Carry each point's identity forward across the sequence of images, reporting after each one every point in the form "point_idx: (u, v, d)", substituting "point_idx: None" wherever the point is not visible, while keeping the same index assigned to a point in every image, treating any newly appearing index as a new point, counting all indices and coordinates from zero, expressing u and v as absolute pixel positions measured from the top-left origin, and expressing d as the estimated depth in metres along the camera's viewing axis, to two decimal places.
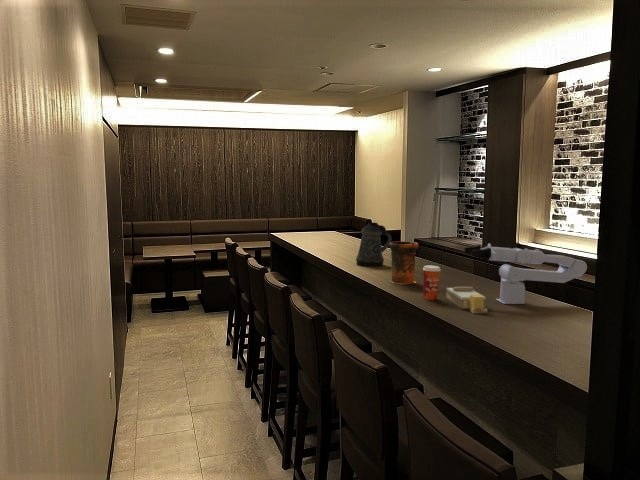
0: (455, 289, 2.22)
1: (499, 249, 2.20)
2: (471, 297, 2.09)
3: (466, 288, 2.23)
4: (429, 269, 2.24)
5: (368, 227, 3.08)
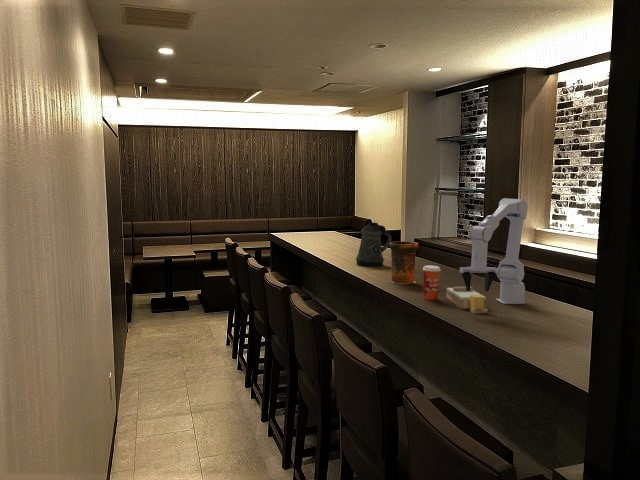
0: (455, 289, 2.22)
1: (485, 259, 2.05)
2: (471, 297, 2.09)
3: None
4: (429, 269, 2.24)
5: (368, 227, 3.08)
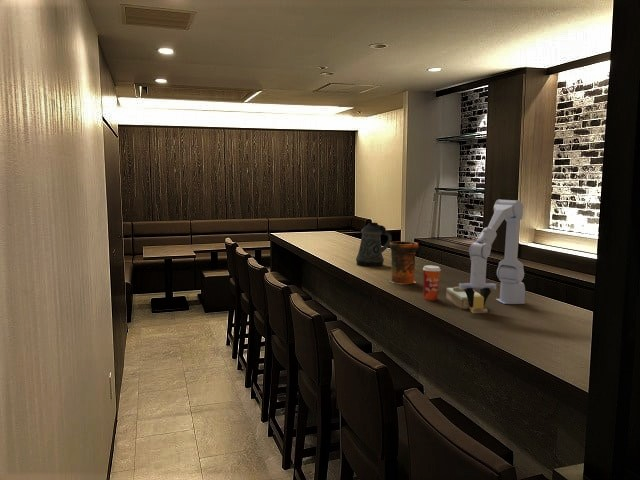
0: (455, 289, 2.22)
1: (484, 276, 2.05)
2: None
3: None
4: (429, 269, 2.24)
5: (368, 227, 3.08)
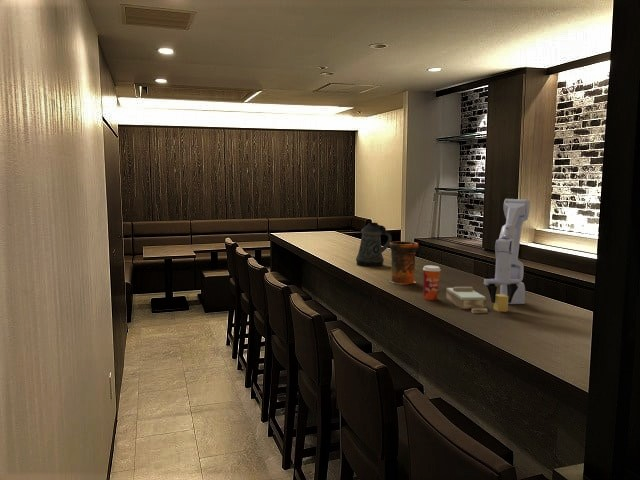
0: (455, 289, 2.22)
1: (509, 272, 2.07)
2: None
3: (466, 288, 2.23)
4: (429, 269, 2.24)
5: (368, 227, 3.08)
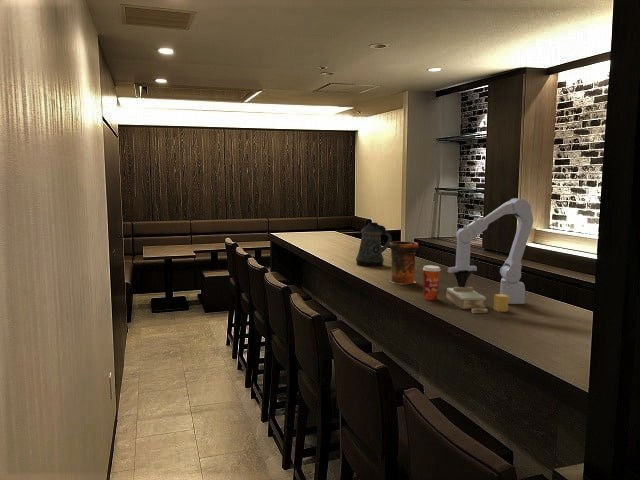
0: (455, 289, 2.22)
1: (469, 259, 2.22)
2: (495, 296, 2.11)
3: (466, 288, 2.22)
4: (429, 269, 2.24)
5: (368, 227, 3.08)
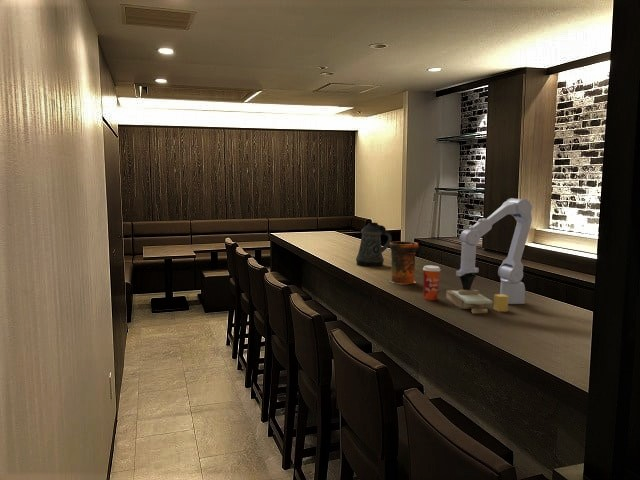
0: (460, 292, 2.16)
1: None
2: (495, 296, 2.11)
3: (472, 291, 2.16)
4: (429, 269, 2.24)
5: (368, 227, 3.08)
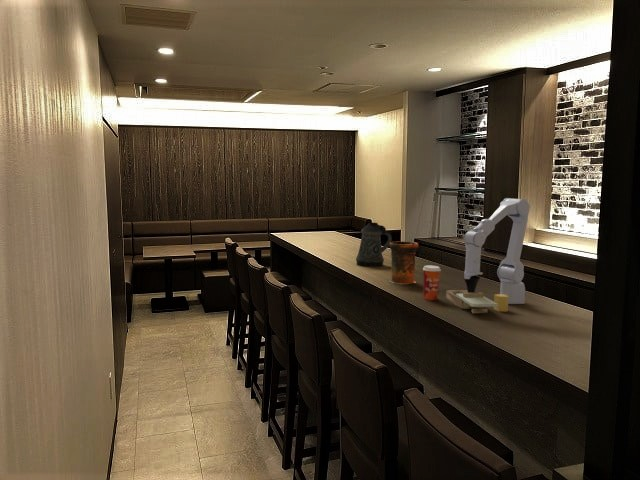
0: (465, 295, 2.11)
1: None
2: (495, 296, 2.11)
3: (476, 294, 2.12)
4: (429, 269, 2.24)
5: (368, 227, 3.08)
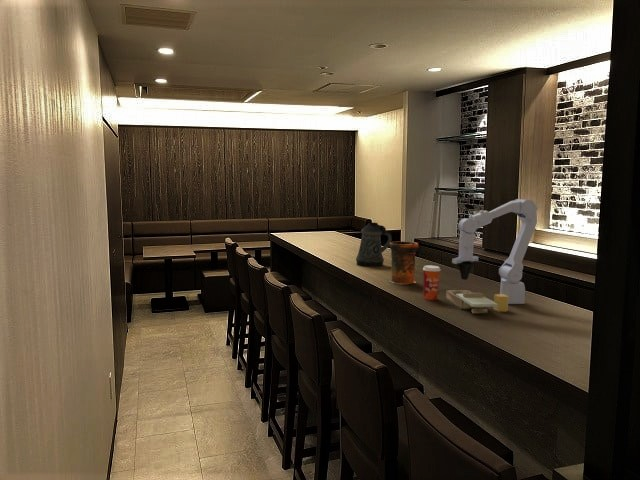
0: (465, 295, 2.11)
1: None
2: (495, 296, 2.11)
3: (476, 294, 2.12)
4: (429, 269, 2.24)
5: (368, 227, 3.08)
